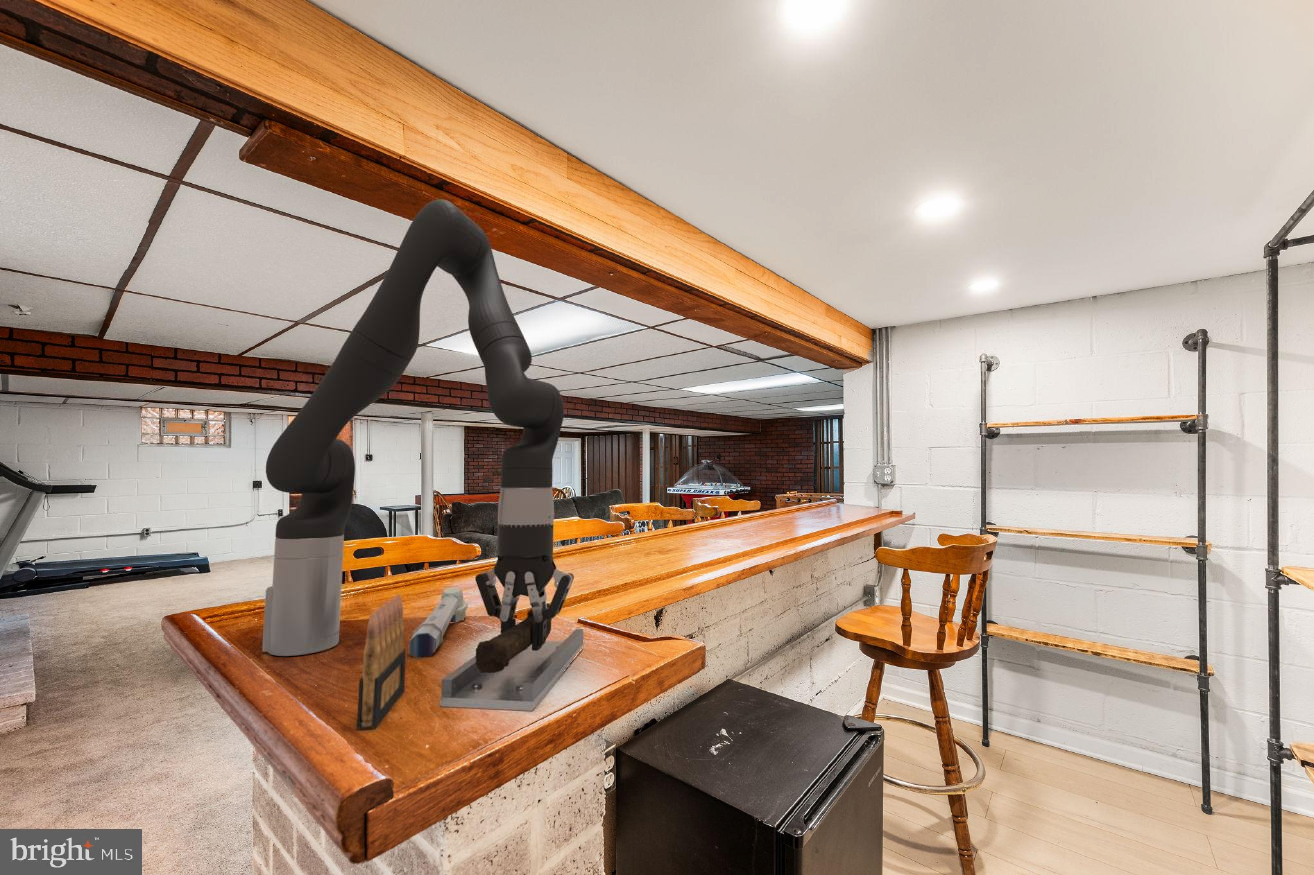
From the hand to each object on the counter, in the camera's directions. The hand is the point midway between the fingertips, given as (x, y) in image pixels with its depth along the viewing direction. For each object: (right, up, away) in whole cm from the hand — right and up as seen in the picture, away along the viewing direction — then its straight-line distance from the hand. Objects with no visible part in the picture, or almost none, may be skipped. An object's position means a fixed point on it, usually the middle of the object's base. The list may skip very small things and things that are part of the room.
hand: (523, 648), depth 73 cm
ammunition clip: (-13, -3, -12) cm, 18 cm away
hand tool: (-1, -1, 0) cm, 1 cm away
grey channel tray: (0, -3, 0) cm, 3 cm away
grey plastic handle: (-19, -5, +18) cm, 27 cm away
